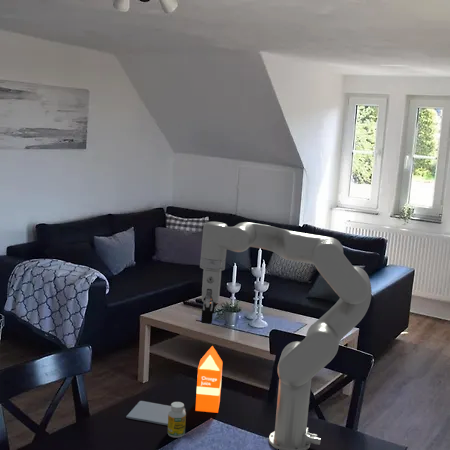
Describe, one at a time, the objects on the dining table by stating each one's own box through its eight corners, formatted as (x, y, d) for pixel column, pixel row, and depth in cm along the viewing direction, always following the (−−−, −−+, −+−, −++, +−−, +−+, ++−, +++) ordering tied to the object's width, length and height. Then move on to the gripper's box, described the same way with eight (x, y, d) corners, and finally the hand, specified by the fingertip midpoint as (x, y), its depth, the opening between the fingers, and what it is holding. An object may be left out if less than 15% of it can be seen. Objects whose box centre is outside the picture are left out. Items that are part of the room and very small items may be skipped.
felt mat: (185, 410, 210) (185, 408, 210) (174, 426, 199) (174, 424, 199) (140, 402, 214) (140, 400, 214) (126, 417, 202) (126, 416, 202)
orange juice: (220, 401, 219) (224, 346, 215) (218, 412, 210) (222, 355, 207) (197, 399, 219) (201, 344, 216) (194, 410, 210) (198, 353, 207)
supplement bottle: (179, 428, 198) (181, 399, 196) (188, 435, 194) (189, 406, 192) (164, 431, 195) (165, 402, 193) (172, 439, 191) (174, 409, 189)
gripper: (223, 271, 181) (218, 328, 184) (226, 258, 198) (221, 310, 201) (197, 268, 181) (192, 325, 184) (202, 255, 198) (198, 308, 201)
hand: (207, 317), depth 193 cm, fingers open, 9 cm apart
